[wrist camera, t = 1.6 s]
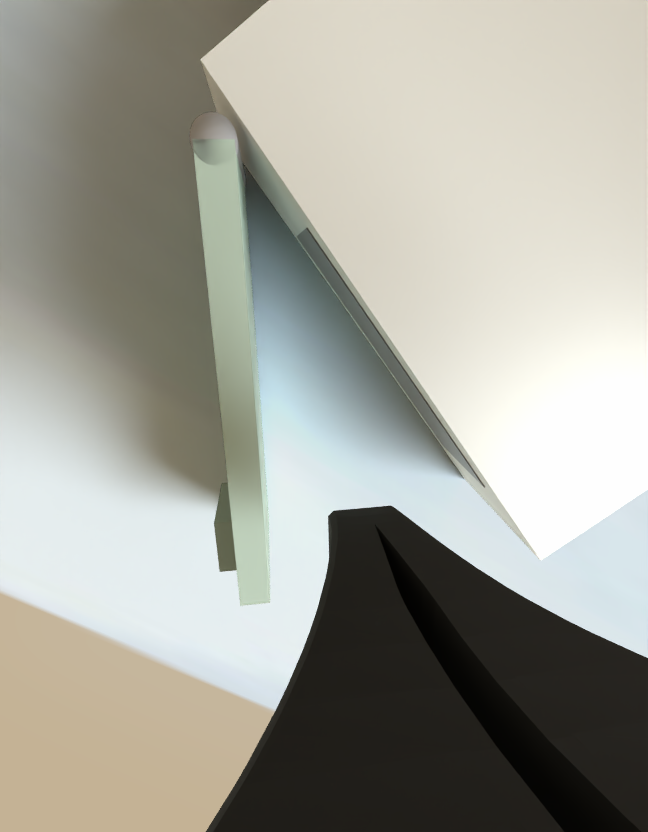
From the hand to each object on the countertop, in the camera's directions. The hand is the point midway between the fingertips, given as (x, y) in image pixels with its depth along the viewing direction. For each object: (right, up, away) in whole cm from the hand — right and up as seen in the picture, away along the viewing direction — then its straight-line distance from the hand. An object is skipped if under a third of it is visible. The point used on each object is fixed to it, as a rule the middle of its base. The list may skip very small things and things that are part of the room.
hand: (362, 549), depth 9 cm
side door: (-4, +4, +5) cm, 8 cm away
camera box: (+5, +8, +5) cm, 11 cm away
